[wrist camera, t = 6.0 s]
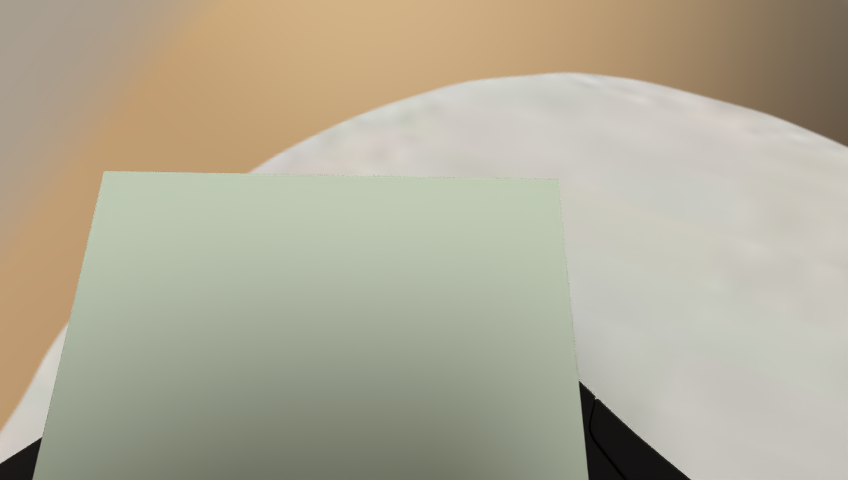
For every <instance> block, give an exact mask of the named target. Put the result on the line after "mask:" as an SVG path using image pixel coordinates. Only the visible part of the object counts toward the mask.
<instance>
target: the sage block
mask: <svg viewBox="0 0 848 480" xmlns="http://www.w3.org/2000/svg"><path fill="white" fill-rule="evenodd" d="M33 480H589V479H588V469H587V459H586V450H585V440H584V430H583V420H582V410H581V400H580V390H579V380H578V370H577V360H576V350H575V340H574V331H573V321H572V311H571V301H570V291H569V281H568V271H567V261H566V251H565V241H564V231H563V222H562V212H561V202H560V192H559V182H558V179H512V178H457V177H401V176H346V175H290V174H234V173H178V172H123V171H122V172H121V171H104V174H103V178H102V183H101V187H100V191H99V195H98V200H97V204H96V209H95V213H94V217H93V221H92V226H91V230H90V234H89V239H88V243H87V247H86V252H85V256H84V260H83V264H82V269H81V273H80V277H79V282H78V286H77V290H76V295H75V299H74V303H73V307H72V312H71V316H70V320H69V325H68V329H67V333H66V338H65V342H64V346H63V350H62V355H61V359H60V363H59V368H58V372H57V376H56V381H55V385H54V389H53V394H52V398H51V402H50V406H49V411H48V415H47V419H46V424H45V428H44V432H43V437H42V441H41V445H40V450H39V454H38V458H37V462H36V467H35V471H34V475H33Z"/></svg>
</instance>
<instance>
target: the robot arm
mask: <svg viewBox="0 0 848 480" xmlns="http://www.w3.org/2000/svg"><path fill="white" fill-rule="evenodd" d="M579 390H580V400H581V410H582V420H583V430H584V440H585V450H586V459H587V469H588V479H589V480H691V479H689V478H688V477H687V476H686V475H684V474H683V473H682V472H681V471H680V470H678V469H677V468H676V467H675V466H674V465H672V464H671V463H670V462H669V461H667V460H666V459H665V458H664V457H663V456H661V455H660V454H659V453H658V452H657V451H655V450H654V449H653V448H652V447H651V446H650V445H648V444H647V443H646V442H645V441H644V440H643V439H641V438H640V437H639V436H638V435H637V434H635V433H634V432H633V431H632V430H631V429H630V428H629V427H628V426H627V425H626V424H625V423H623V422H622V421H621V420H620V419H619V418H618V417H617V416H616V415H615V414H614V413H613V412H612V411H611V410H609V409H608V408H607V407H606V406H605V405H604V404H603V403H602V402H601V401H600V400H599V399H595V395H594V394H593V393H592V392H591V391H590V390H588V389H587V388H586V387H585V386H584V385H583V384H582V383H581V382H580V381H579ZM41 441H42V437H41V438H40V439H38V440H37V441H35V442H34V443H32V444H31V445H29V446H27V447H26V448H24V449H23V450H21V451H20V452H18V453H16V454H15V455H13V456H12V457H10V458H8V459H7V460H5V461H4V462H2V463H0V480H33V475H34V471H35V467H36V462H37V458H38V454H39V450H40V445H41Z"/></svg>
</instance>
